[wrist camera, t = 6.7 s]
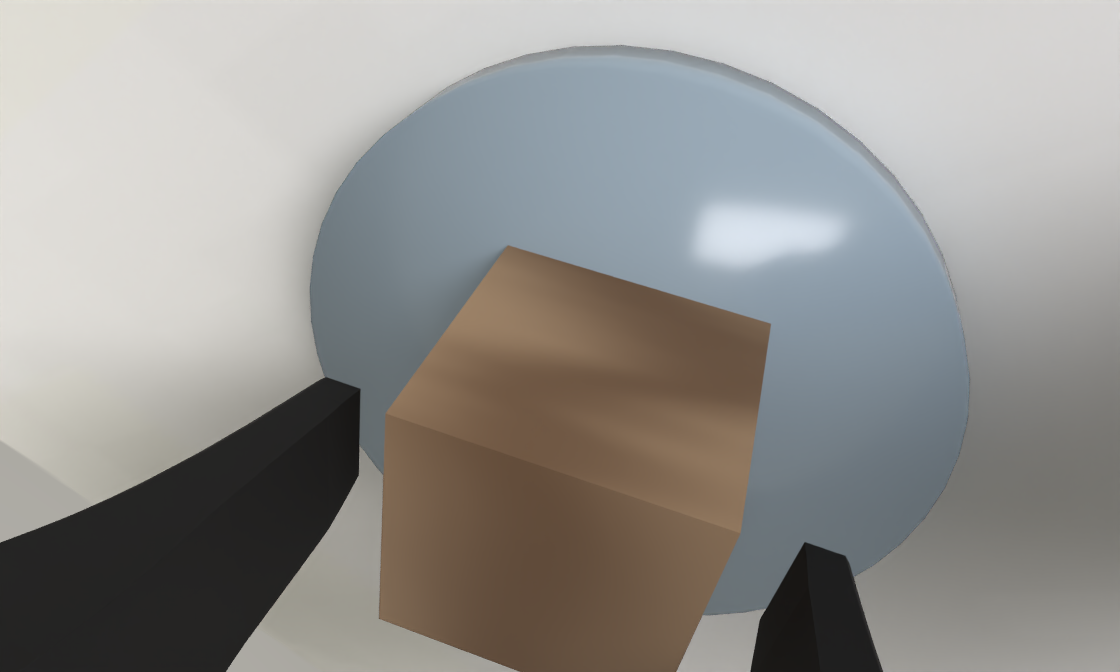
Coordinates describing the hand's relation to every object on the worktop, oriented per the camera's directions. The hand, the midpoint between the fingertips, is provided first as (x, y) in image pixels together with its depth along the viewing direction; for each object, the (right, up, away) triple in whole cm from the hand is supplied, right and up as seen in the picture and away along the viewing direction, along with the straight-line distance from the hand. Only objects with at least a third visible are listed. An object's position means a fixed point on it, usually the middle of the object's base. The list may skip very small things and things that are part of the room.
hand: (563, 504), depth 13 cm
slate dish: (+1, +2, +3) cm, 4 cm away
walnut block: (+1, +2, +2) cm, 3 cm away
